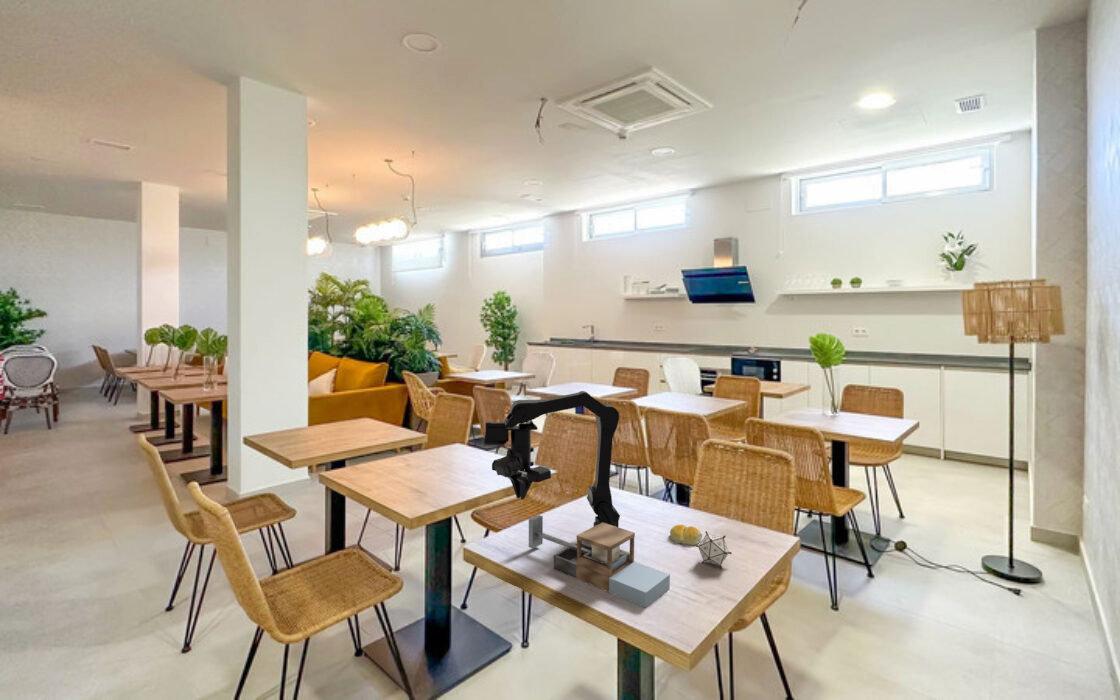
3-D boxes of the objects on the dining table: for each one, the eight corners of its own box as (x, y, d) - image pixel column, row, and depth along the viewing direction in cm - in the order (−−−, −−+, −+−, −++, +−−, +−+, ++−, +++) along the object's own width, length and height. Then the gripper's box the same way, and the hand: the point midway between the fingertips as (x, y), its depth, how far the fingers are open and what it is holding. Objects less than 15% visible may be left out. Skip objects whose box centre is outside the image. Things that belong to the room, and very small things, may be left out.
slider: (523, 549, 143) (523, 521, 142) (543, 539, 149) (543, 512, 149) (609, 584, 124) (609, 552, 124) (628, 572, 130) (628, 541, 130)
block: (591, 563, 129) (591, 544, 129) (603, 556, 133) (603, 537, 133) (607, 569, 126) (608, 550, 126) (619, 562, 130) (619, 543, 130)
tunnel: (553, 568, 134) (553, 527, 133) (579, 554, 142) (580, 515, 142) (609, 592, 123) (609, 547, 122) (634, 575, 131) (634, 532, 130)
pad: (609, 592, 123) (609, 577, 122) (634, 575, 131) (634, 561, 131) (645, 607, 116) (646, 592, 116) (669, 588, 124) (669, 574, 124)
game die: (713, 581, 135) (707, 560, 130) (693, 557, 142) (686, 537, 137) (740, 561, 137) (735, 540, 132) (718, 539, 144) (713, 518, 138)
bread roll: (675, 531, 159) (675, 518, 159) (704, 538, 154) (704, 525, 154) (665, 540, 152) (665, 527, 152) (695, 548, 147) (695, 534, 147)
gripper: (477, 444, 148) (477, 498, 149) (524, 456, 136) (524, 514, 136) (505, 438, 156) (505, 488, 157) (552, 448, 144) (552, 503, 145)
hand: (520, 498), depth 149 cm, fingers closed
